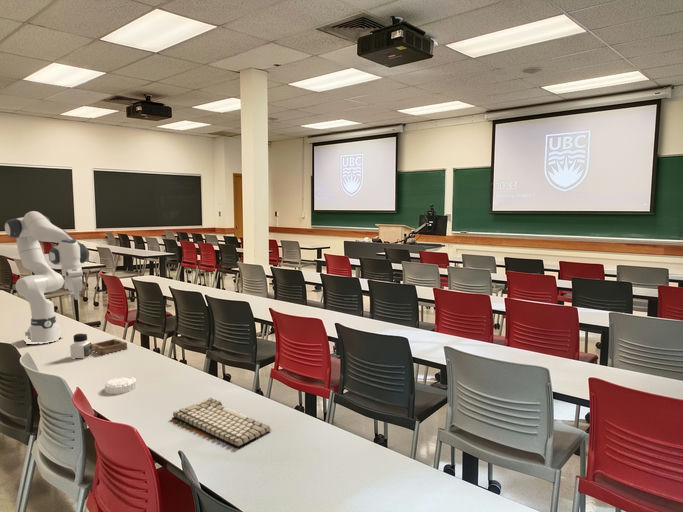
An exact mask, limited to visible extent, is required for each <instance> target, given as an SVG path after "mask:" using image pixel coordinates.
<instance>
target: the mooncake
mask: <svg viewBox="0 0 683 512" xmlns="http://www.w3.org/2000/svg"><path fill="white" fill-rule="evenodd" d="M136 388H137V379H136V378H135V377H131V376H121V377H115V378H112V379H111V380H108V381H106V383H104V389H105V393H107V394H110V395H117V394H118V395H119V394H124V393H129V392H131V391H133V390H135V389H136Z"/></svg>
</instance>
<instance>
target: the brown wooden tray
mask: <svg viewBox="0 0 683 512" xmlns="http://www.w3.org/2000/svg"><path fill="white" fill-rule="evenodd" d="M91 345H92V352H93V351H95V352H97V353H96V354H98V353H99V354H98V355H100V354H101V356H106V355H105V354H107V355H110V354H109V353H111V354H114V353H113V352H115V353H117V351H119V352H122V351H121V350H123V351H126V350H128V343H127V342H126V341H123V340H119V339H117V338H113V339H108V340H104V341H103V340H102V341H99V342H94V343H91ZM95 352H94V353H95Z"/></svg>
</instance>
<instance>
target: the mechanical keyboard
mask: <svg viewBox="0 0 683 512" xmlns="http://www.w3.org/2000/svg"><path fill="white" fill-rule="evenodd" d="M169 422H171V423H173V424H175V425H177V426H179V427H182V428H184V429H185V430H188V431H190V432H194V433H197V434H199V435H201V436H202V437H206V438H207V439H211V440H216V439H217V441H219V442H222V443H223V444H226V445H227V446H230V447H232V448H234V449H237V450H240V449H242V448H244V447H246V446H248V445H249V444H252V443H253V442H255V441H257V440H258V439H261V437H262V436H265V435H266V434H268V433H269V432H270V431H272V428H271V426H270V425H269V424H266V423H263V422H261V421H259V420H255V419H254V418H252V417H248V416H247V415H245V414H242V413H241V412H238V411H236V410H234V409H230V408H228V407H224V406H223V403H222V402H221V401H220V400H217V398H216V399H215V398H214V399H213V398H212V397H209V398H208V399H204V400H202V401H198V402H196V404H194V403H193V404H192V405H189V406H186V407H185V408H180V409H179V410H175V411H173V412H172V417H171V419H170V420H169Z"/></svg>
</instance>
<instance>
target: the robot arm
mask: <svg viewBox="0 0 683 512" xmlns="http://www.w3.org/2000/svg"><path fill="white" fill-rule="evenodd" d="M51 222H52V221H51V220H50V218H49V217H48V216H46V215H43V213H41V212H39V211H35V210H32V211H29V212H27V213H25V214H24V216H22V217H17V218H11V219H8V220H6V221H5V223H4V230H5V233H6V235H7V236H8V237H9V238H11V239H16V245H17V251H18V254H19V258H20V261H21V264H22V267H23V268H24V269H26V270H29V271H30V272H31V273H33V275H26V276H23V277H21V278H18V279H17V281H16V283H15V285H14V286H15V290H16V292H17V294H19V295H20V296H23V297H24V298H25V300H27V302H28V304H29V306H30V307H29V308H30V314H31V318H30V326H29V327H28V329H27V331H24V336H25V337H28V339H30V340H31V342H47V341H52V340H55V339H58V338H59V337H60V336H61V330H60V325H59V324H58V323H57V318H56V315H55V303H54V302H53V301H52V300H50V299H48V298H46V296H45V293H51V292H55V291H57V290H59V289H62V288H63V286H65V288H66V289H68V293H69V297H70V298H72V299H73V298H74V300H76V301H78V300H80V292H82V290H83V276H84V272H83V269H82V264H84V263H85V262H86V261H87V260H88V259H89V257H90V251H89V249H88V247H87V246H86V245H85V244H83V243H81V242H80V241H78V240H77V239H75V238H74V237H73V236H72V235H70V233H68V232H67V231H66V230H64V229H63V228H60V227H58V226H56V225H55V224H53V223H51ZM40 242H48V243H56V244H57V243H58V245H56V246H54V247H51V248H50V250H49V252H48V259H49V261H50V263H51V264H53V265H54V266H60V267H61V274H60V273H59V272H57V271H55V270H54V269H53V268H51V266H50V265H49V263H47V261H46V257H45V256H44V253H43V250H42V246H41V244H40Z"/></svg>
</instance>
